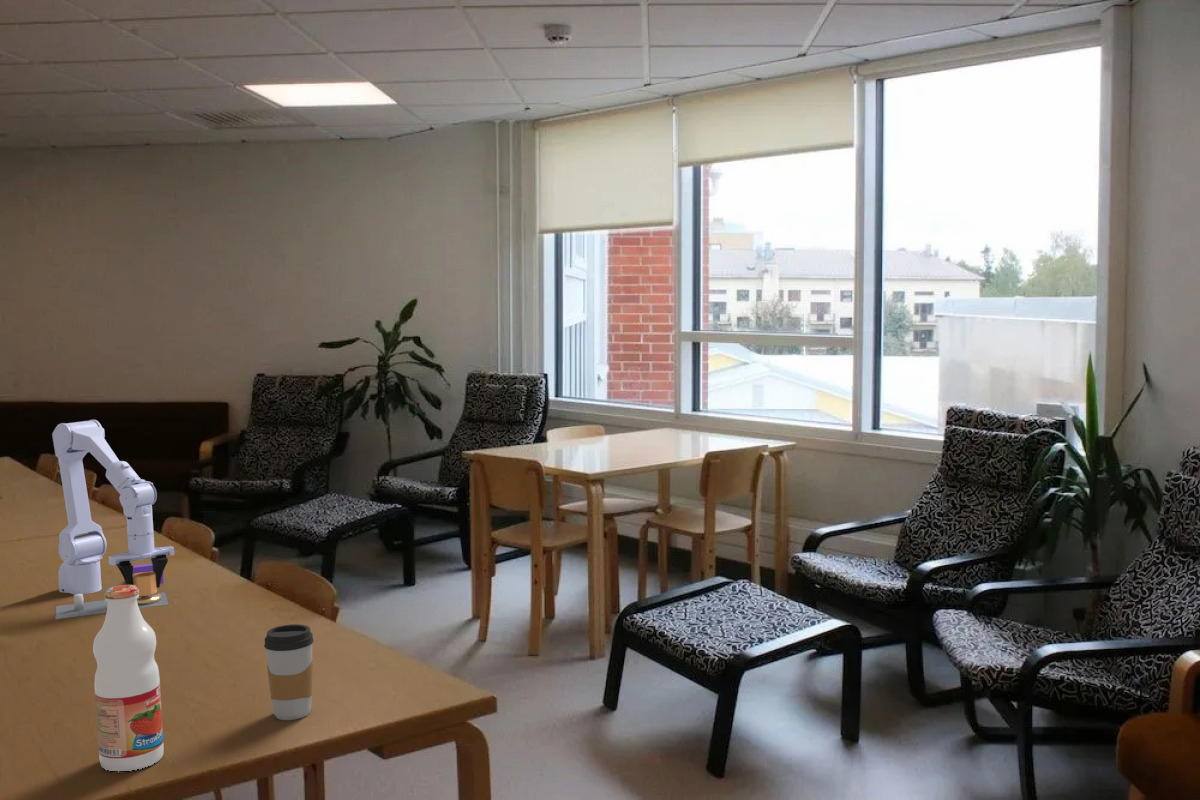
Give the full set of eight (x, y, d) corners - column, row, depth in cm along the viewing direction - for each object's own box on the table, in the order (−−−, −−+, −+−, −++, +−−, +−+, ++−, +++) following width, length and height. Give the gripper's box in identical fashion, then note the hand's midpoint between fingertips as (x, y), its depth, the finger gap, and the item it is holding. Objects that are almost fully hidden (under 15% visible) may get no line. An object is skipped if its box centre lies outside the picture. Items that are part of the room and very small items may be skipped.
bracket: (163, 590, 273) (162, 564, 273) (135, 594, 270) (133, 567, 269) (156, 580, 284) (154, 555, 283) (128, 584, 280) (126, 558, 279)
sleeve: (129, 596, 253) (128, 578, 253) (135, 590, 259) (134, 572, 258) (153, 595, 254) (152, 576, 254) (158, 589, 260) (157, 571, 259)
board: (55, 625, 243) (54, 604, 243) (56, 612, 254) (55, 591, 254) (168, 610, 254) (167, 589, 253) (165, 598, 264) (164, 578, 264)
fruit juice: (113, 749, 174) (102, 581, 172) (172, 747, 175) (162, 579, 172) (89, 775, 165) (77, 597, 162) (152, 772, 165) (141, 595, 163)
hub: (121, 604, 255) (120, 582, 254) (143, 595, 261) (142, 575, 261) (145, 606, 252) (144, 584, 252) (167, 598, 259) (166, 577, 259)
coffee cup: (273, 706, 192) (269, 624, 190) (320, 703, 193) (317, 622, 191) (262, 724, 184) (258, 639, 182) (312, 721, 184) (308, 636, 183)
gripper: (113, 541, 248) (117, 598, 249) (177, 531, 257) (180, 586, 258) (104, 536, 253) (108, 592, 254) (167, 526, 262) (170, 581, 264)
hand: (143, 589), depth 257 cm, fingers closed on sleeve, 5 cm apart
